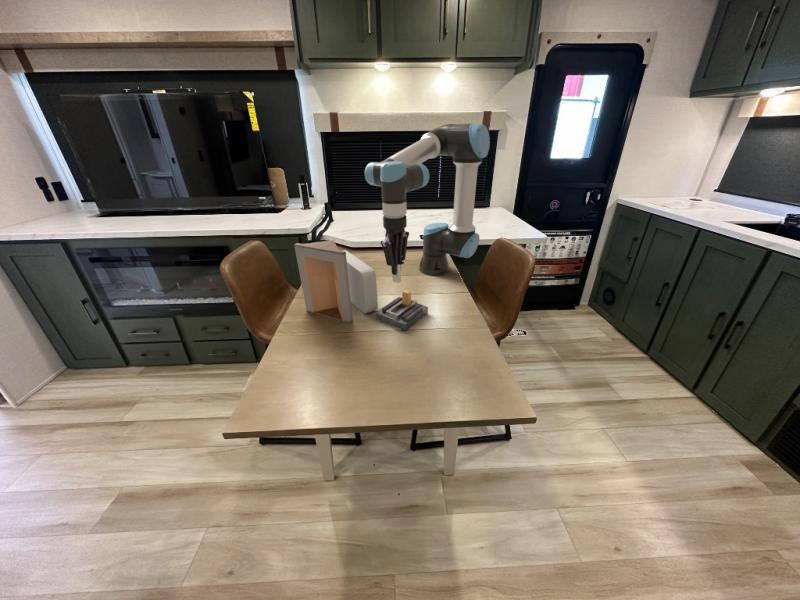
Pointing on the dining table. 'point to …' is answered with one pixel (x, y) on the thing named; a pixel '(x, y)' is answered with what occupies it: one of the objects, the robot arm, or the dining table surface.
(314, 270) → the cabinet
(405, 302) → the breaker lever
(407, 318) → the grey slider track plate
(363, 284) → the rounded white slab
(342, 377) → the dining table surface
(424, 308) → the frame
